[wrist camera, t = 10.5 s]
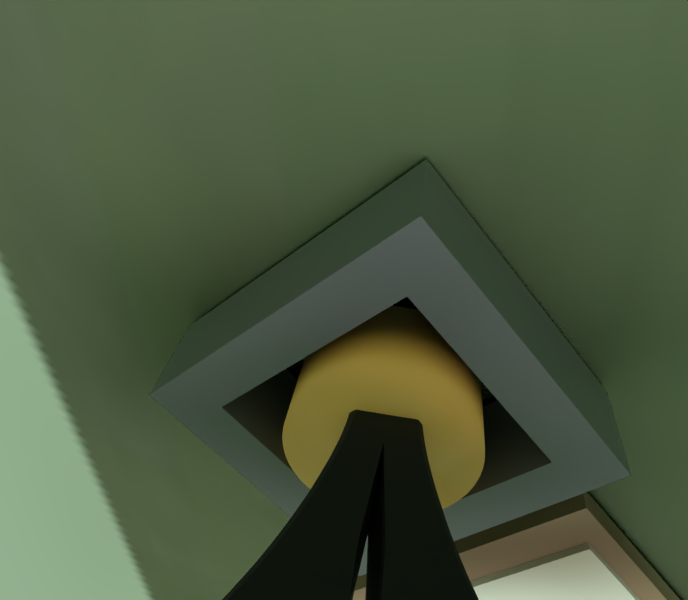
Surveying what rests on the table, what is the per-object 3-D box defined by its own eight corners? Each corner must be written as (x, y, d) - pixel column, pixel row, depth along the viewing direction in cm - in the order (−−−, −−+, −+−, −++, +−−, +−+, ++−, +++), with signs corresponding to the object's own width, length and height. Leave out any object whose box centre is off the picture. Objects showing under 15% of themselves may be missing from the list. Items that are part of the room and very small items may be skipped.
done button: (516, 399, 14) (525, 476, 12) (376, 464, 16) (366, 540, 14) (408, 273, 13) (400, 338, 11) (268, 359, 15) (241, 427, 13)
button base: (606, 391, 15) (631, 475, 13) (370, 495, 18) (359, 576, 16) (426, 159, 12) (421, 215, 10) (189, 325, 15) (148, 395, 13)
